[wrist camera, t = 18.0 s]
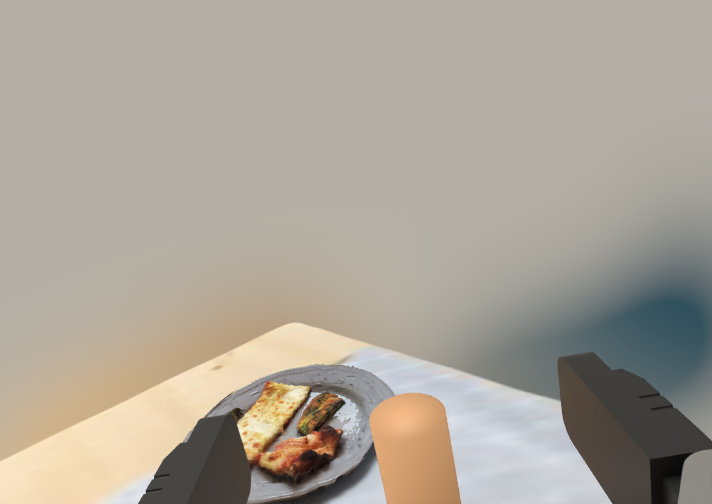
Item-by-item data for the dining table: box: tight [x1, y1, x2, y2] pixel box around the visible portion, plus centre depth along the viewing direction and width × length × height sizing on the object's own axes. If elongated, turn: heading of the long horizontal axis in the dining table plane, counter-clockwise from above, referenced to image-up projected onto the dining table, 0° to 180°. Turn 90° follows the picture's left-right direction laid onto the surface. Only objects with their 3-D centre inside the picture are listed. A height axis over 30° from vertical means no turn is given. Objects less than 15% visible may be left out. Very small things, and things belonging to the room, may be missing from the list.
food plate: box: [183, 364, 395, 504], centre depth 55 cm, size 25×23×4 cm
